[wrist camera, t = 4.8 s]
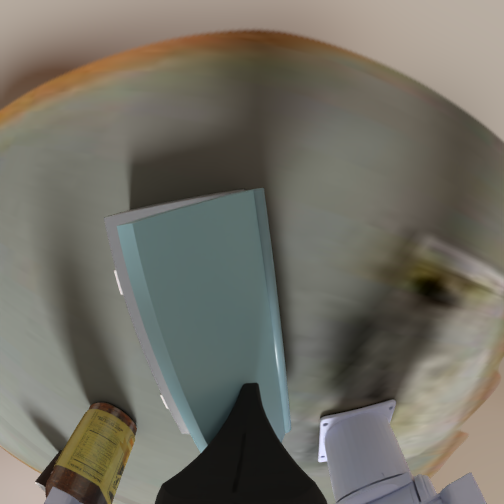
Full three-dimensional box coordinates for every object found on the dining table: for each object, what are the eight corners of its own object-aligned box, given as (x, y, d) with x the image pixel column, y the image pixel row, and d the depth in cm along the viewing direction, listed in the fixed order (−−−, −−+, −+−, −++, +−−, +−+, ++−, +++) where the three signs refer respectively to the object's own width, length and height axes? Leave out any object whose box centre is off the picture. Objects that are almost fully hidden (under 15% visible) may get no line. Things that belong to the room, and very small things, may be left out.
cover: (281, 423, 19) (292, 425, 18) (239, 513, 11) (253, 517, 10) (248, 189, 14) (266, 187, 14) (116, 225, 6) (142, 221, 6)
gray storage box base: (275, 402, 21) (277, 431, 18) (186, 406, 22) (178, 433, 18) (244, 188, 17) (241, 191, 13) (125, 210, 17) (99, 218, 14)
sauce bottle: (122, 437, 24) (73, 559, 5) (83, 406, 23) (15, 526, 4) (151, 427, 23) (102, 576, 4) (107, 391, 22) (28, 541, 3)
